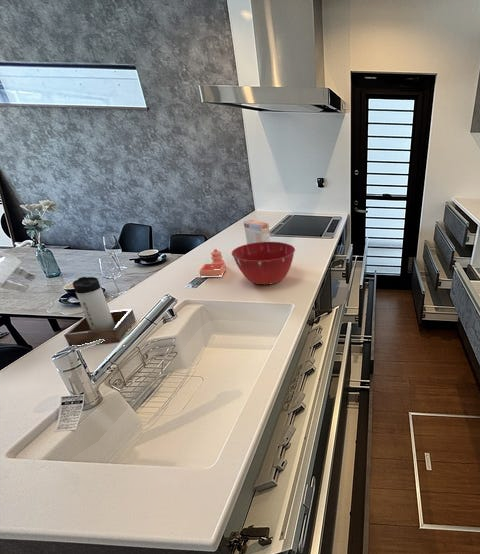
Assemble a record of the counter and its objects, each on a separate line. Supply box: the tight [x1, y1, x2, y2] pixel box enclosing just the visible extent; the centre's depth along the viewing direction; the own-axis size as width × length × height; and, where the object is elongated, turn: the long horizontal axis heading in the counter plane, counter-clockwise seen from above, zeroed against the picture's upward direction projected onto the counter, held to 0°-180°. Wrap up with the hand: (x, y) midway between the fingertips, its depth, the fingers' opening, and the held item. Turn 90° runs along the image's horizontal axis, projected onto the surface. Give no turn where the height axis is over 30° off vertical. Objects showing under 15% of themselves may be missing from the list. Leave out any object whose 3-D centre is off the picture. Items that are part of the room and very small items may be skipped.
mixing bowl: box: [231, 241, 296, 285], centre depth 146 cm, size 28×28×16 cm
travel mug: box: [72, 276, 115, 331], centre depth 101 cm, size 6×7×20 cm
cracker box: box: [243, 219, 271, 244], centre depth 173 cm, size 14×6×21 cm, turn 59°
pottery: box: [199, 248, 226, 278], centre depth 155 cm, size 18×10×10 cm, turn 11°
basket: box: [64, 308, 137, 348], centre depth 104 cm, size 14×14×5 cm
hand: (31, 283), depth 90 cm, fingers open, 8 cm apart
